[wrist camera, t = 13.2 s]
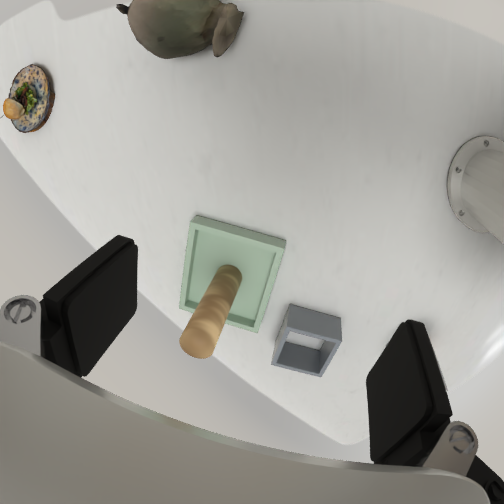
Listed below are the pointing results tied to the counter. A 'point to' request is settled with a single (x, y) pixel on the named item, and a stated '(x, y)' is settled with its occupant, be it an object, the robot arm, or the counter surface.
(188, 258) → the tray
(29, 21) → the counter surface
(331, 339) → the open box
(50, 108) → the plate of food
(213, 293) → the dowel
